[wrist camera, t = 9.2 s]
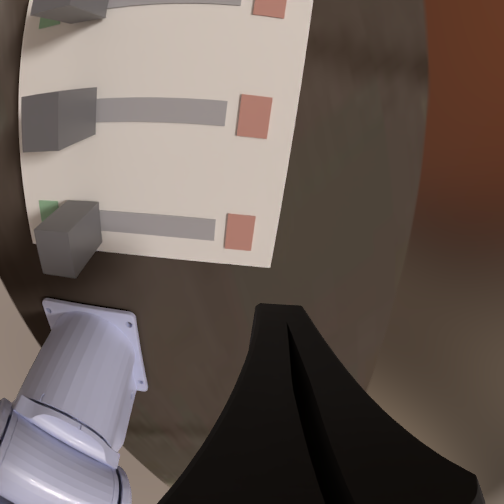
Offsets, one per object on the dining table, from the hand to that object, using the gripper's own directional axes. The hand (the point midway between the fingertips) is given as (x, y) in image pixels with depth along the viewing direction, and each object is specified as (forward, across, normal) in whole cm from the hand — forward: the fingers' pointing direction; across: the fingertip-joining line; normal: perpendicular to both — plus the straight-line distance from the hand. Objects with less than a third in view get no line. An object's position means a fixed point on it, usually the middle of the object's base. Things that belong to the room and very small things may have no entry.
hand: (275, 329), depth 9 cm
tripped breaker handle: (+8, +10, -5) cm, 13 cm away
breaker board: (+9, +7, -5) cm, 13 cm away
